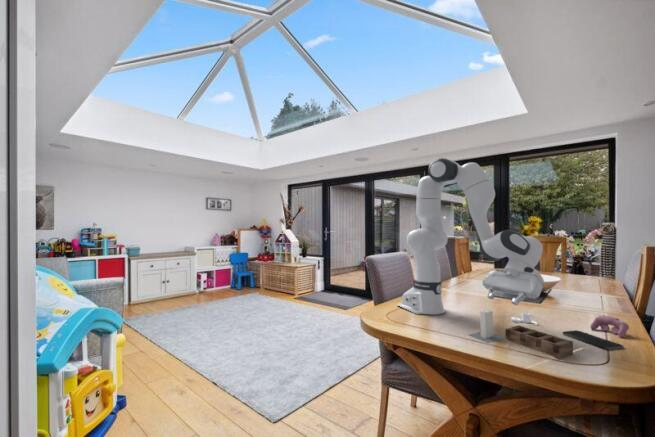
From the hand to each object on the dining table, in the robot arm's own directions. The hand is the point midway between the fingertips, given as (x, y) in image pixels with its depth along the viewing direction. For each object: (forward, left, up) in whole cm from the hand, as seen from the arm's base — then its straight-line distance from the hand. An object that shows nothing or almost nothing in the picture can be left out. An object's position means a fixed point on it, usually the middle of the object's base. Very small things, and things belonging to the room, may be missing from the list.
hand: (501, 300), depth 111 cm
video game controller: (+23, +33, -12) cm, 42 cm away
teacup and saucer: (-3, +23, -13) cm, 26 cm away
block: (-2, -8, -12) cm, 14 cm away
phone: (+21, +18, -13) cm, 31 cm away
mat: (-2, -8, -12) cm, 15 cm away
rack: (+12, -3, -12) cm, 18 cm away
